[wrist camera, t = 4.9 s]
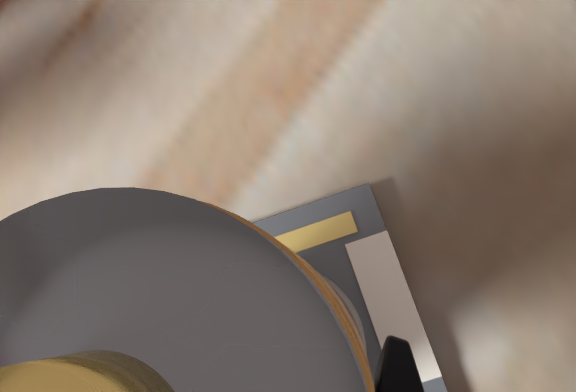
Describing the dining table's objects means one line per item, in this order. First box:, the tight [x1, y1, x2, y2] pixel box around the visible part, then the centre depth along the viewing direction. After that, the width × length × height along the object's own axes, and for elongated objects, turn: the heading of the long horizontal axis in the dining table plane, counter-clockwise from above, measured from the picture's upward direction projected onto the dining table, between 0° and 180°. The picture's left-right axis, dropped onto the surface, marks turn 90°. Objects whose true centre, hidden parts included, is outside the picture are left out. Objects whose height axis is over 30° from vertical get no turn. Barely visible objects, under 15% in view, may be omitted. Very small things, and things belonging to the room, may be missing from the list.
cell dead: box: [0, 188, 375, 392], centre depth 10 cm, size 5×5×13 cm
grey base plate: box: [252, 183, 447, 392], centre depth 17 cm, size 9×9×1 cm
